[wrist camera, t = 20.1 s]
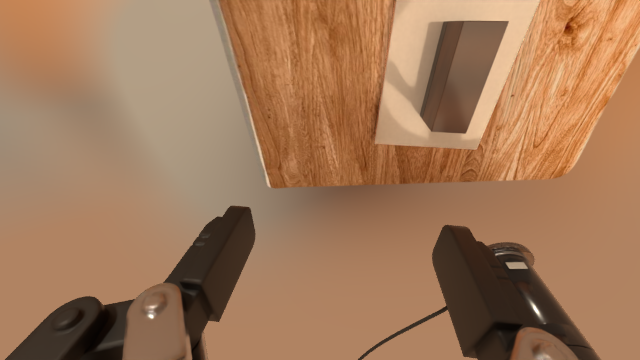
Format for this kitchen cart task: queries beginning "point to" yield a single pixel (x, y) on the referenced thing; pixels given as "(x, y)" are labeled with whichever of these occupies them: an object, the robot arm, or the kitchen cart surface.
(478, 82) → the dark brown block
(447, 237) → the robot arm
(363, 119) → the kitchen cart surface
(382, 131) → the tile
